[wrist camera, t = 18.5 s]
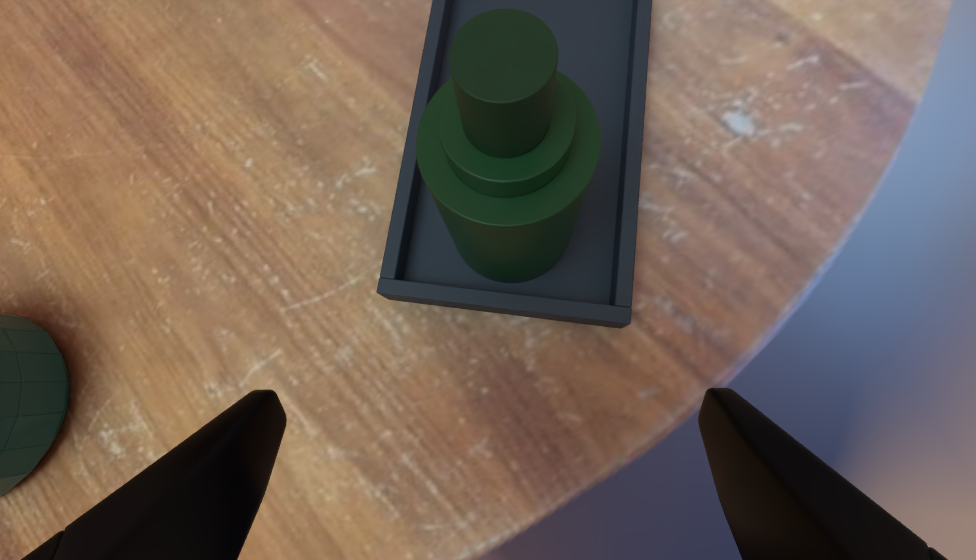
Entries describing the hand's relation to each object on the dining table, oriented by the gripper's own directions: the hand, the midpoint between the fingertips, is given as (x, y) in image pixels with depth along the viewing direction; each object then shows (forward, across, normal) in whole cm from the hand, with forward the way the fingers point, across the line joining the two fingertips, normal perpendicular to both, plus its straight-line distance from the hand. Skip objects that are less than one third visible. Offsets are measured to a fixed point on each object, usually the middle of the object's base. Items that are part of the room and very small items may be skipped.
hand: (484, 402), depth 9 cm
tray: (+23, -2, -4) cm, 23 cm away
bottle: (+15, 0, +3) cm, 16 cm away
